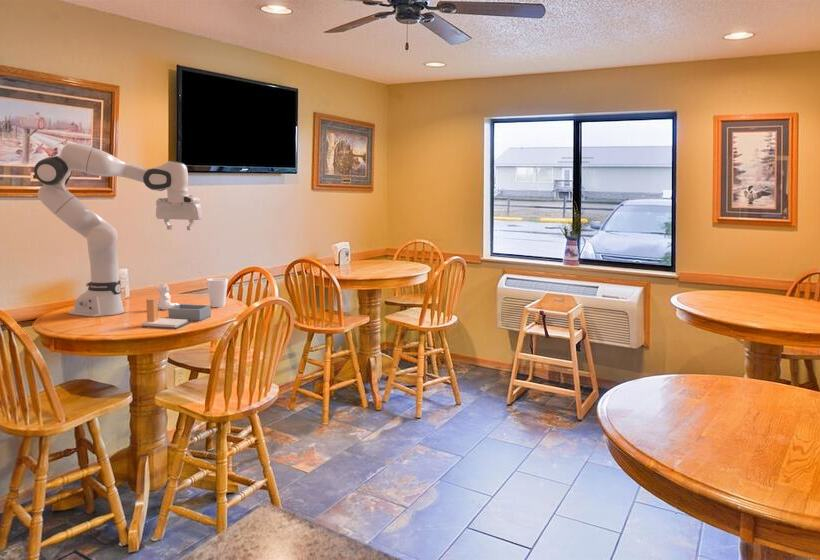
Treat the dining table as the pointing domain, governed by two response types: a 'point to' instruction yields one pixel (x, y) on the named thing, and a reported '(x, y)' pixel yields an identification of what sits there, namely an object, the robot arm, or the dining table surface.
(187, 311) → the tub
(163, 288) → the white creature statuette
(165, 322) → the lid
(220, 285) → the foam cup
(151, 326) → the mat
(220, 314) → the dining table surface
